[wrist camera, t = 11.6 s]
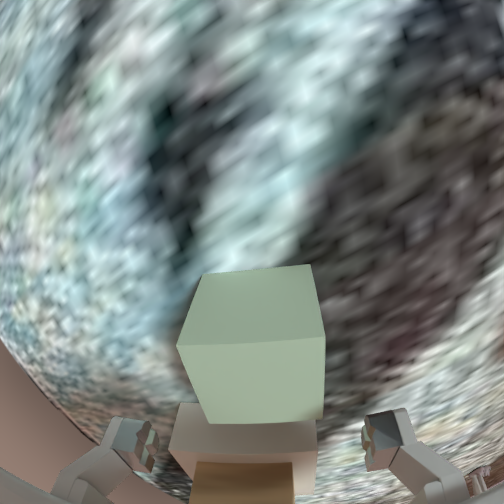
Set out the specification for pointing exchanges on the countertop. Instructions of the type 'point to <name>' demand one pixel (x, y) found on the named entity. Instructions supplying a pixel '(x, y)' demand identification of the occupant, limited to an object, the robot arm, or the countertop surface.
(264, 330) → the green cube
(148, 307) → the countertop surface
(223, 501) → the oak block
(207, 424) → the pedestal
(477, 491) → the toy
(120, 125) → the countertop surface
